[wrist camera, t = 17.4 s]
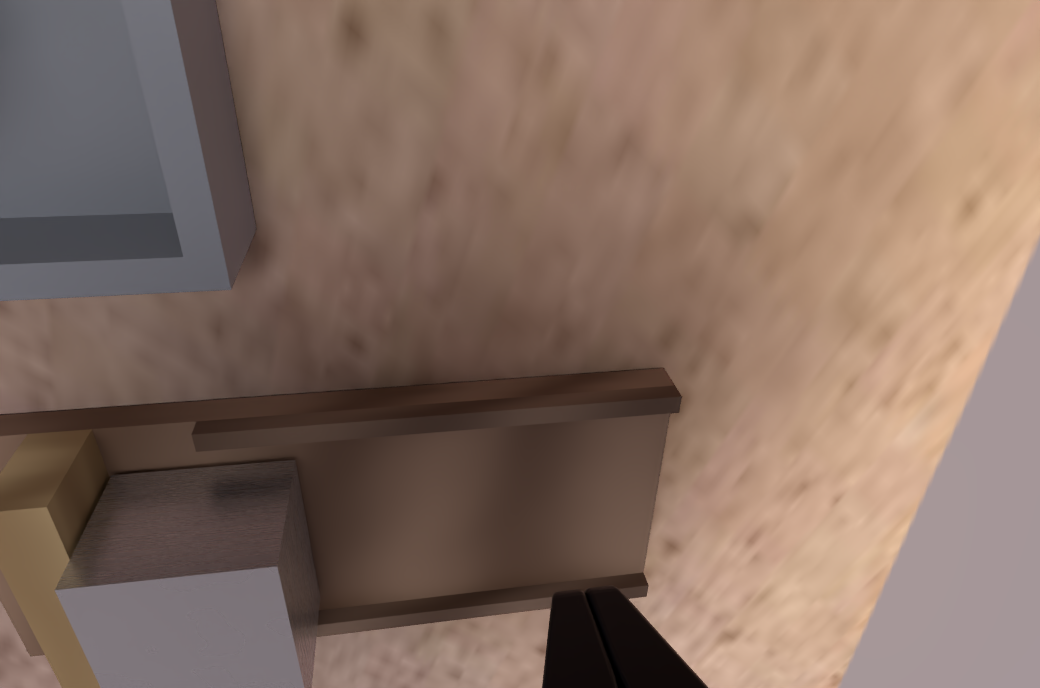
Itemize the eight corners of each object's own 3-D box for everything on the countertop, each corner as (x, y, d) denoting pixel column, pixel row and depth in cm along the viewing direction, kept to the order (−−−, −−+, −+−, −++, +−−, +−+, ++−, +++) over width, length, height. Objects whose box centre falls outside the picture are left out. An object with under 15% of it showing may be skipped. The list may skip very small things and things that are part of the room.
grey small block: (295, 459, 20) (277, 566, 17) (320, 597, 23) (309, 710, 20) (111, 475, 20) (54, 590, 16) (162, 614, 23) (123, 736, 19)
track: (664, 367, 22) (713, 447, 19) (633, 562, 27) (669, 654, 24) (-64, 419, 19) (-160, 525, 16) (43, 630, 24) (-14, 747, 20)
